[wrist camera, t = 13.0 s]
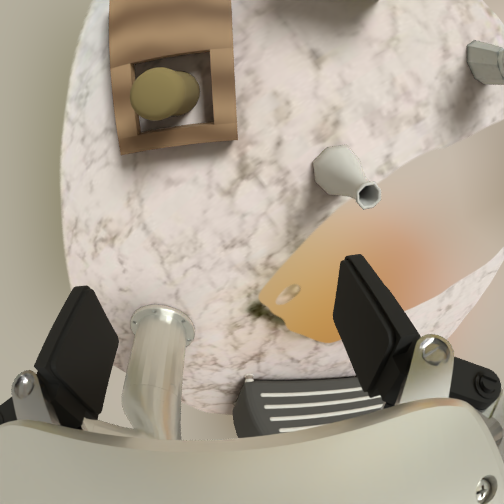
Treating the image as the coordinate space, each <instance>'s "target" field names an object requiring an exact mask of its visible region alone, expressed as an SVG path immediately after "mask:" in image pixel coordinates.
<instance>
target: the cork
mask: <svg viewBox="0 0 504 504" xmlns="http://www.w3.org/2000/svg"><path fill="white" fill-rule="evenodd" d="M199 95H200V88H199V84H198V82H197V81H196V79H195V78H194V77H193V76H192V75H191V74H189V73H187V72H184V71H174V70H172V69H168V68H165V67H155V68H152V69H149V70H147V71H145V72H144V73H142V74H141V75H140V76H138V78H137V79H136V80H135V81H134V83H133V85H132V87H131V90H130V103H131V106H132V108H133V109H134V111H135V112H136V113H137V114H138V115H139V116H141V117H142V118H144V119H148V120H151V121H153V120H162V119H166V118H168V117H170V116H180V115H183V114H185V113H187V112H189V111H190V110H191V109H192V108H193V107H194V106H195V105H196V103H197V101H198V99H199Z"/></svg>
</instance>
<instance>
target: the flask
mask: <svg viewBox="0 0 504 504" xmlns="http://www.w3.org/2000/svg"><path fill="white" fill-rule="evenodd" d="M313 167H314V175H315V182H316V183H317V184H318V185H319V186H320V187H321V188H322V189H323V190H324V191H325V192H326V193H327V194H330V195H342V196H349V197H352V198H354V199H356V202H357V203H358V204H359V206H360V207H361V208H362V209H363V210H364V209H369V208H373V207H374V206H375V205H376V204H377V203H378V202H380V201H381V189H380V188H379V187H378V185H377V184H376V183H375V182H374V181H369V180H367V179H366V177H365V174H364V172H363V169H362V166H361V163H360V160H359V158H358V157H357V156H356V155H355V154H354V152H353V151H352V150H351V149H350V148H349V147H348V145H340V146H332V147H327V148H326V149H325V150H324V151H323V152H322V153H321V154H320V155H319V156H318V157H317V158H316V159H315V160H314V161H313Z"/></svg>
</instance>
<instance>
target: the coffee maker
mask: <svg viewBox="0 0 504 504" xmlns="http://www.w3.org/2000/svg"><path fill="white" fill-rule="evenodd" d="M467 63H468V65H469V67H470V69H471V71H472V74H473V76H474V78H475V79H477V80H478V81H480V82H481V83H483V84H485V85H504V49H503V48H502V47H499V46H495V45H492V44H488V43H484V42H480V41H476V40H474V41H472V42H471V43H470V44H468V45H467Z"/></svg>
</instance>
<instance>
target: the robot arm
mask: <svg viewBox="0 0 504 504" xmlns="http://www.w3.org/2000/svg"><path fill="white" fill-rule="evenodd" d="M333 320H334V323H335V326H336V328H337V330H338V332H339V335H340V337H341V339H342V342H343V344H344V346H345V349H346V351H347V354H348V356H349V358H350V361H351V363H352V366H353V368H354V371H355V373H356V376H357V378H358V380H359V383H360V386H361V388H362V390H363V391H364V392H368V395H369V397H370V398H373V397H376V396H379V395H380V396H381V398H382V401H384V402H383V405H382V408H381V410H378V411H375V412H372V413H369V414H365V415H362V416H358V417H355V418H351V419H347V420H343V421H339V422H335V423H331V424H326V425H322V426H318V427H313V428H308V429H303V430H298V431H292V432H286V433H280V434H273V435H265V436H257V437H247V438H236V439H221V440H181V426H180V420H181V397H182V382H183V369H184V356H185V347H187V346H188V345H190V344H191V342H192V341H193V339H194V335H195V328H194V325H193V323H192V321H191V320H190V319H189V318H188V316H186V315H185V314H184V313H182V312H181V311H179V310H177V309H174V308H172V307H169V306H164V305H147V306H144V307H141V308H139V309H138V310H137V311H136V312H135V313H134V314H133V316H132V318H131V325H130V326H131V330H132V332H133V334H134V335H135V339H134V343H133V347H132V351H131V355H130V359H129V364H128V368H127V373H126V378H125V383H124V387H123V393H122V407H123V410H124V413H125V415H126V416H127V418H128V420H129V421H130V423H131V425H132V426H133V428H134V429H131V428H125V427H120V426H117V425H113V424H110V423H107V422H103V421H100V420H97V419H98V414H100V413H101V411H102V408H103V403H104V399H105V394H106V389H107V386H108V381H109V377H110V374H111V370H112V366H113V362H114V359H115V355H116V351H117V348H118V344H119V340H118V336H117V334H116V332H115V331H114V329H113V327H112V325H111V323H110V322H109V320H108V318H107V316H106V314H105V312H104V310H103V308H102V306H101V304H100V302H99V300H98V298H97V296H96V294H95V292H94V291H93V290H92V289H90V287H88V286H76V287H74V288H73V290H72V291H71V293H70V295H69V297H68V298H67V300H66V302H65V304H64V306H63V307H62V309H61V311H60V313H59V315H58V317H57V319H56V321H55V322H54V324H53V326H52V328H51V330H50V332H49V334H48V336H47V338H46V341H45V343H44V345H43V347H42V350H41V351H40V353H39V356H38V358H37V360H36V363H35V365H34V367H35V368H36V369H37V370H38V372H37V374H35V373H34V372H33V371H31V370H26V371H24V372H21V373H20V374H19V375H18V376H17V377H16V378H15V380H14V382H13V384H12V389H11V390H12V397H11V398H10V399H8V400H7V401H6V402H4V403H3V404H2V405H0V504H504V388H503V389H501V383H500V380H499V378H498V377H497V375H496V374H495V373H494V372H493V371H492V370H490V369H487V368H484V367H482V366H479V365H476V364H473V363H471V362H468V361H465V360H462V359H460V358H457V357H454V351H453V348H452V346H451V344H450V343H449V342H448V341H447V340H446V339H445V338H443V337H441V336H439V335H435V334H427V335H424V336H422V337H421V336H420V335H419V333H418V332H417V330H416V328H415V327H414V325H413V324H412V322H411V321H410V319H409V318H408V316H407V315H406V313H405V312H404V310H403V309H402V308H401V306H400V305H399V303H398V302H397V300H396V299H395V297H394V296H393V295H392V293H391V292H390V290H389V289H388V288H387V287H386V286H385V285H384V284H383V282H382V281H381V280H380V278H379V277H378V276H377V274H376V273H375V272H374V270H373V269H372V267H371V266H370V265H369V264H368V262H367V261H366V259H365V258H364V257H363V256H362V255H361V254H357V255H350V256H346V257H345V260H343V261H341V263H340V270H339V277H338V285H337V291H336V299H335V305H334V311H333Z"/></svg>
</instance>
